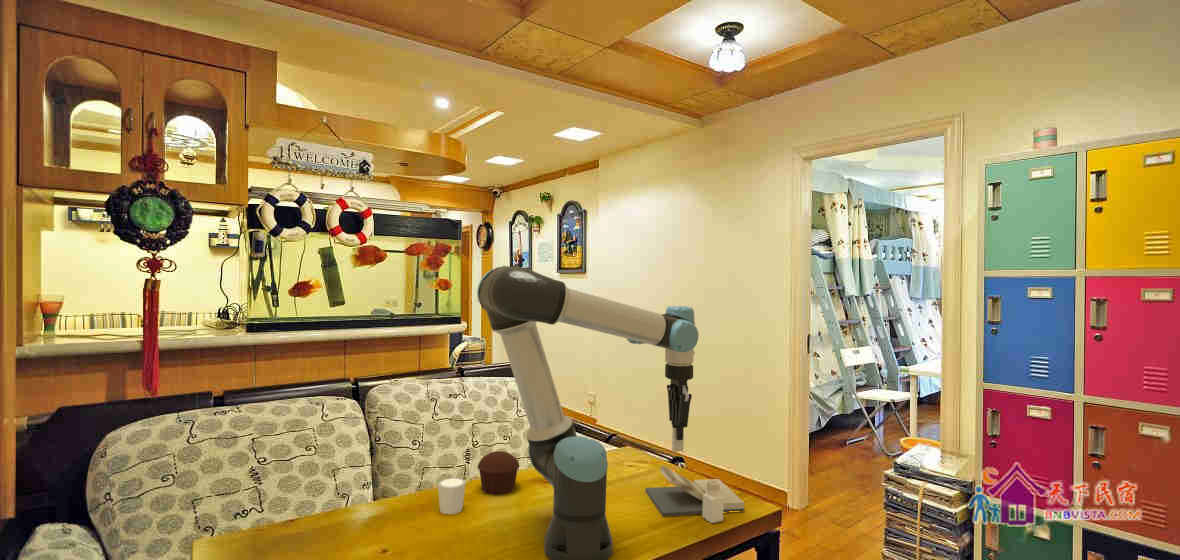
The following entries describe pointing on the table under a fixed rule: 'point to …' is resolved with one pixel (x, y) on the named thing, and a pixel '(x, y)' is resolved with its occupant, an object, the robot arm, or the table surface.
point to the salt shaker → (713, 502)
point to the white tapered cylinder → (451, 495)
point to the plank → (682, 483)
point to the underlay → (690, 499)
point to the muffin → (498, 472)
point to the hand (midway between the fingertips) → (677, 450)
